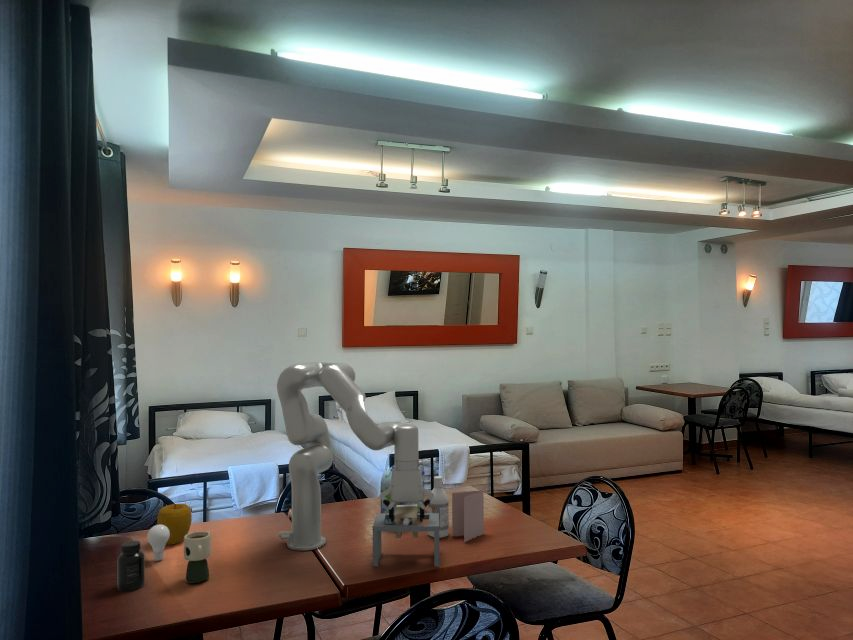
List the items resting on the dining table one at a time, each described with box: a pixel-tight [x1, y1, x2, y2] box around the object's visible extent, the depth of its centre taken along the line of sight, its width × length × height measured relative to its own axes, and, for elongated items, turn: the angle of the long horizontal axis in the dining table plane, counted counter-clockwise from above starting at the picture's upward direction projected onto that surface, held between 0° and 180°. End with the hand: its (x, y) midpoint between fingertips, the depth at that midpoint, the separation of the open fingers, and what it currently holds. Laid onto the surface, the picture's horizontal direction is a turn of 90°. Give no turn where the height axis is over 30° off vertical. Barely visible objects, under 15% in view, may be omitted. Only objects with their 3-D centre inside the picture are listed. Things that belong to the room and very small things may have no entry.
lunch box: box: [379, 464, 426, 525], centre depth 227 cm, size 26×11×21 cm, turn 162°
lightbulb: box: [146, 524, 170, 562], centre depth 187 cm, size 6×6×11 cm
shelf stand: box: [372, 512, 440, 568], centre depth 187 cm, size 20×13×14 cm, turn 89°
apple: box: [156, 503, 193, 546], centre depth 203 cm, size 11×11×13 cm
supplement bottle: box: [116, 540, 146, 592], centre depth 168 cm, size 7×7×12 cm
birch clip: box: [395, 505, 419, 539], centre depth 187 cm, size 7×7×8 cm
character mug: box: [183, 530, 212, 584], centre depth 172 cm, size 11×7×13 cm, turn 28°
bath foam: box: [427, 475, 450, 539], centre depth 209 cm, size 7×7×20 cm
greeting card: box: [451, 490, 485, 543], centre depth 206 cm, size 11×7×15 cm, turn 105°
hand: (406, 520), depth 187 cm, fingers open, 8 cm apart
